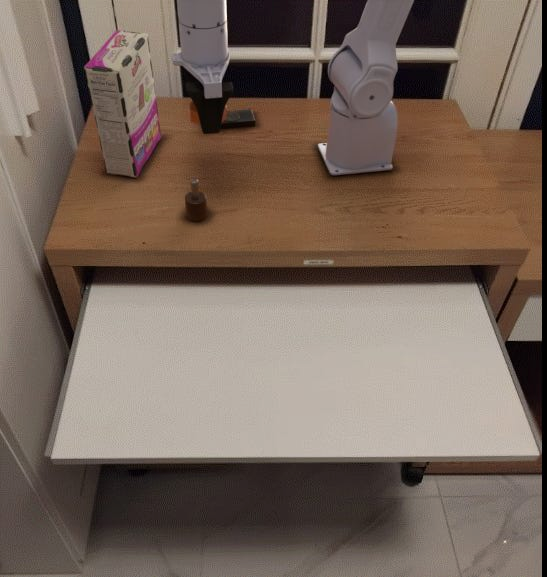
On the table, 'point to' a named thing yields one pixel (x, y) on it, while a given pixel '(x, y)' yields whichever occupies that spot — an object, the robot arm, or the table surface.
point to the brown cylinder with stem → (195, 203)
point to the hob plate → (238, 119)
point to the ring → (194, 114)
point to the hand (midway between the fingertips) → (208, 121)
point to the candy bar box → (124, 102)
